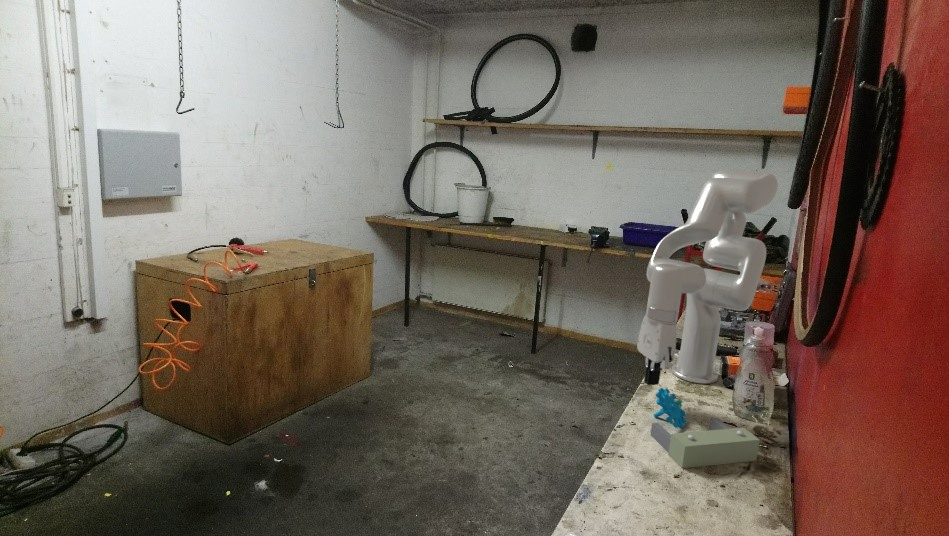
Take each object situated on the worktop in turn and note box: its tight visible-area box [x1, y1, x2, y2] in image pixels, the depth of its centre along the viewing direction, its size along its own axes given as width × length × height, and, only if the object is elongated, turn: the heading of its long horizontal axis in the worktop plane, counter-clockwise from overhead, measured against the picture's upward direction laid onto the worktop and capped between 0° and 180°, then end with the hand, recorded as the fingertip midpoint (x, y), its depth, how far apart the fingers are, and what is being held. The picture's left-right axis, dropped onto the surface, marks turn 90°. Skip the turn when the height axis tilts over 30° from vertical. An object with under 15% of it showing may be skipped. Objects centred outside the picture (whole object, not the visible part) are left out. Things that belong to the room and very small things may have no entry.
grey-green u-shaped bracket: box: [650, 417, 761, 469], centre depth 121 cm, size 13×18×6 cm
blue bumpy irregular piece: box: [653, 387, 688, 429], centre depth 133 cm, size 11×6×10 cm
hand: (651, 383), depth 139 cm, fingers closed
